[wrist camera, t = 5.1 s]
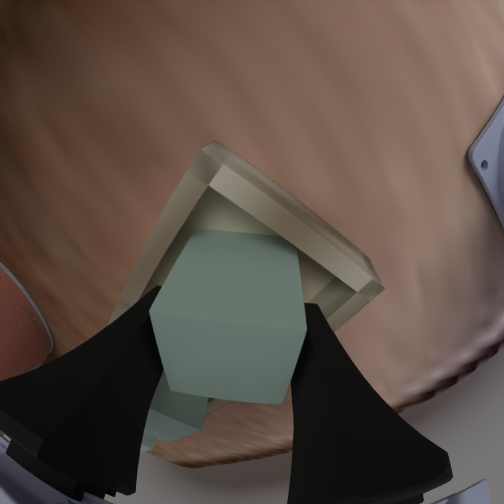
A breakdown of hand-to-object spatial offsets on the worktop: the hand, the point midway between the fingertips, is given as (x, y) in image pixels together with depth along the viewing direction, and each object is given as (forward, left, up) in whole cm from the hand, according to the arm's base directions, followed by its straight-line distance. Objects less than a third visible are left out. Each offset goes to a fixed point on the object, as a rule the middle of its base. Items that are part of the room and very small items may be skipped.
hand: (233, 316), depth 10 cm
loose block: (0, 0, -3) cm, 3 cm away
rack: (0, +7, -3) cm, 8 cm away
